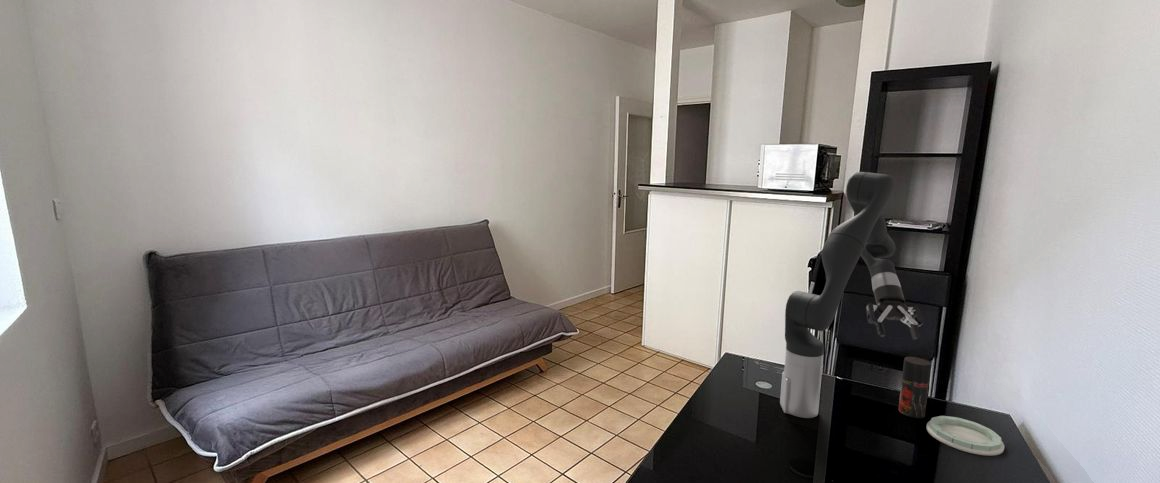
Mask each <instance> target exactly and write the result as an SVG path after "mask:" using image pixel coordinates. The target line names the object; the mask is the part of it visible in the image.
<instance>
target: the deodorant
mask: <svg viewBox="0 0 1160 483" xmlns="http://www.w3.org/2000/svg"><path fill="white" fill-rule="evenodd" d="M931 369H932V362H931V361H930V360H927V359H925V358H920V357H916V356H905V357H904V360H903V367H902V376H901V385H900V393H899V401H898V411H899V413H901V414H903V415H905V416H907V417H910V418H912V419H913V418H914V419H923V418H924V417H926V411H927V410H926V408H927V400H928V391H929V386H930V376H931Z"/></svg>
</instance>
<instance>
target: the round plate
mask: <svg viewBox="0 0 1160 483" xmlns="http://www.w3.org/2000/svg"><path fill="white" fill-rule="evenodd" d="M926 431H927V433H928V434H929V435H930V436H932V438H934V439H935V440H937V441H939V442H940V443H943V444H944V445H946V446H949V447H950V448H954V449H956V450H959V451H962V452H966V453H969V454H974V455H978V456H988V457H989V456H991V457H992V456H993V457H994V456H998V455H1002V454H1003V453H1004V451H1005V444H1004V442H1003V441H1002V437H1001V436H999V434H998V433H996V432H995V431H994V430H992V429H991V428H988V427H987V426H984V425H983V424H980V423H977V422H975V421H972V420H969V419H964V418H961V417H957V416H948V415H947V416H946V415H939V416H934V417H931V419H930V420H929V421H928V422H927V423H926Z"/></svg>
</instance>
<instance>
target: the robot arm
mask: <svg viewBox="0 0 1160 483" xmlns="http://www.w3.org/2000/svg"><path fill="white" fill-rule="evenodd" d="M895 183H896V182H895V179H894V177H893V176H891V175H888V174H885V173H876V172H867V171H856V172H853V173H852V174H851V175H850V176H849V178H848V180H847V184H846V187H845V188H846V189H845V194H846V198H847V200H848V201H847V202H848V203H849V205H850V207H851V209H852V211H853V213H854V216H853V217H851V218H849V219H847V220H845V221H844V222H842V223H840V224H839V225H837V226H836V227H835V228H833V229H832V231H830V233H829V235H828V237H827V238H826V241H825V243H824V245H823V247H822V248H821V261H822V266H823V269H824V273H825V280H826V281H825V284H824V287H823V290H822V293H821V294H820V295H819V294H815V293H810V292H805V291H801V290H797V291H794V292H792V293H791V294H790V295H789V296H788V298H787V301H786V304H785V310H784V311H785V312H784V313H785V314H784V324H785V325H784V340H785V357H784V369H783V370H784V371H782V373H781V385H780V397H779V403H780V404H779V405H780V407H781V408H782V412H783V413H784V414H788V415H791V416H795V417H799V418H803V419H812V418H815V417H817V416H818V415H819V410H820V396H821V395H820V394H821V384H822V373H823V363H824V362H823V361H824V351H825V345H824V342H822V340H820V339H819V338H818V337H817V336H815V335H814V334H813V333H812V332H811V331H810V330H814V331H818V332H824V331H826V330H827V329H829V327H830V326H831V324H832V322H833V320H834V318H835V316H836V313H837V311H838V308H839V304H840V302H841V299H842V297H843V294H844V291H845V289H846V286H847V284H848V281H849V279H850V277H851V276H852V273H853V271H854V269H855V267H856V266H857V263H858V262H859V259H860V257H861V258H862V260H863V261H864V263H865V264H866V266H867V268H868V271H869V274H870V279H871V287H872V291H873V295H874V298H875V299H874V300H875V304H873V303H872V302H868V304H867V305H866V307H865V311H866V318H867V323H868V324H871V325H872V324H873V325H874V326H875V327H876V332H877V335H878V336H880V338H884V337H885V336H886V335H887V334H886V329H885V324H884V322H883V321H884V320H885V319H887V320H888V321H892V320H893V321H900V322H901V323H903V324H905V325H907V326H908V327H909V330H910V334H911V335H910V336H911V339H912V340H917V339H918V338H919V337H920V336H921V335H920V334H921V333H920V329H919V328H920V327H922V325H923V324H925V321H924V319H923V318H924V317H923V314H922V313H921V310H920V307H919V306H918V305H914V306H908V305H907V304H906V300H905V297H904V294H903V293H904V292H903V289H902V286H901V282H900V280H899V277H898V275H897V270H896V267H895V264H894V262H893V261H892V260H890V259H887V258H890V257H892V256H893V255H894V254H895V253H896V249H897V247H896V244H895V242H894V240H893V239H892V237H891V236H890V235H889V233H888V231H887V230H888V229H887V221H886V219H885V218H884V216H883V215H882V213H883V211H884V210H885V208H886V206H887V204H888V203H889V201H890V199H891V197H892V195H893V192H894V189H895ZM875 311H877V312H878V313H879V314H880V316H879V317H878V318H876V316H875ZM908 312H909V313H908Z"/></svg>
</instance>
